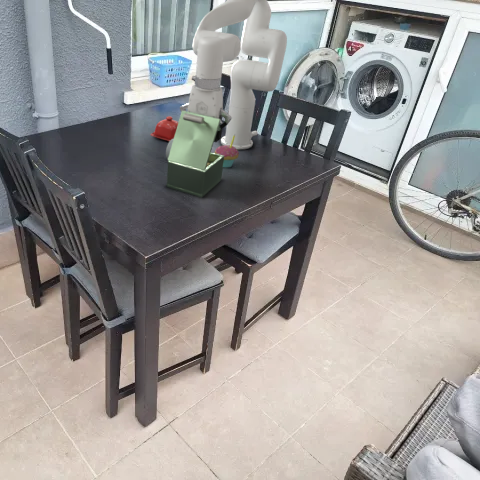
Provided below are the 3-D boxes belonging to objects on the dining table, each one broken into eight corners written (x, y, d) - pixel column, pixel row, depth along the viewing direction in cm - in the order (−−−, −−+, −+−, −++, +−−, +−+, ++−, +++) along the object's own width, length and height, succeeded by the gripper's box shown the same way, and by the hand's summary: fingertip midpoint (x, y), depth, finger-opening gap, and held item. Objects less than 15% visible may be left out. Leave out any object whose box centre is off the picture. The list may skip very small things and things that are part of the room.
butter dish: (187, 136, 182) (189, 115, 177) (173, 145, 174) (174, 123, 169) (163, 130, 187) (164, 110, 182) (148, 138, 179) (149, 117, 174)
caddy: (187, 170, 155) (189, 146, 150) (221, 180, 150) (224, 155, 145) (166, 186, 145) (167, 161, 140) (201, 197, 139) (204, 171, 134)
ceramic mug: (185, 167, 157) (186, 147, 153) (164, 162, 160) (165, 141, 156) (197, 157, 165) (199, 138, 161) (178, 152, 168) (179, 133, 164)
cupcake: (239, 162, 163) (243, 130, 156) (234, 171, 156) (239, 139, 149) (216, 158, 165) (219, 127, 158) (210, 167, 158) (214, 135, 151)
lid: (182, 111, 137) (175, 106, 132) (220, 119, 132) (214, 114, 127) (168, 160, 140) (160, 157, 134) (205, 170, 134) (198, 168, 129)
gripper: (176, 80, 132) (173, 135, 142) (229, 91, 125) (223, 147, 135) (188, 75, 138) (184, 128, 148) (240, 84, 131) (232, 139, 141)
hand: (202, 137), depth 141 cm, fingers open, 9 cm apart
